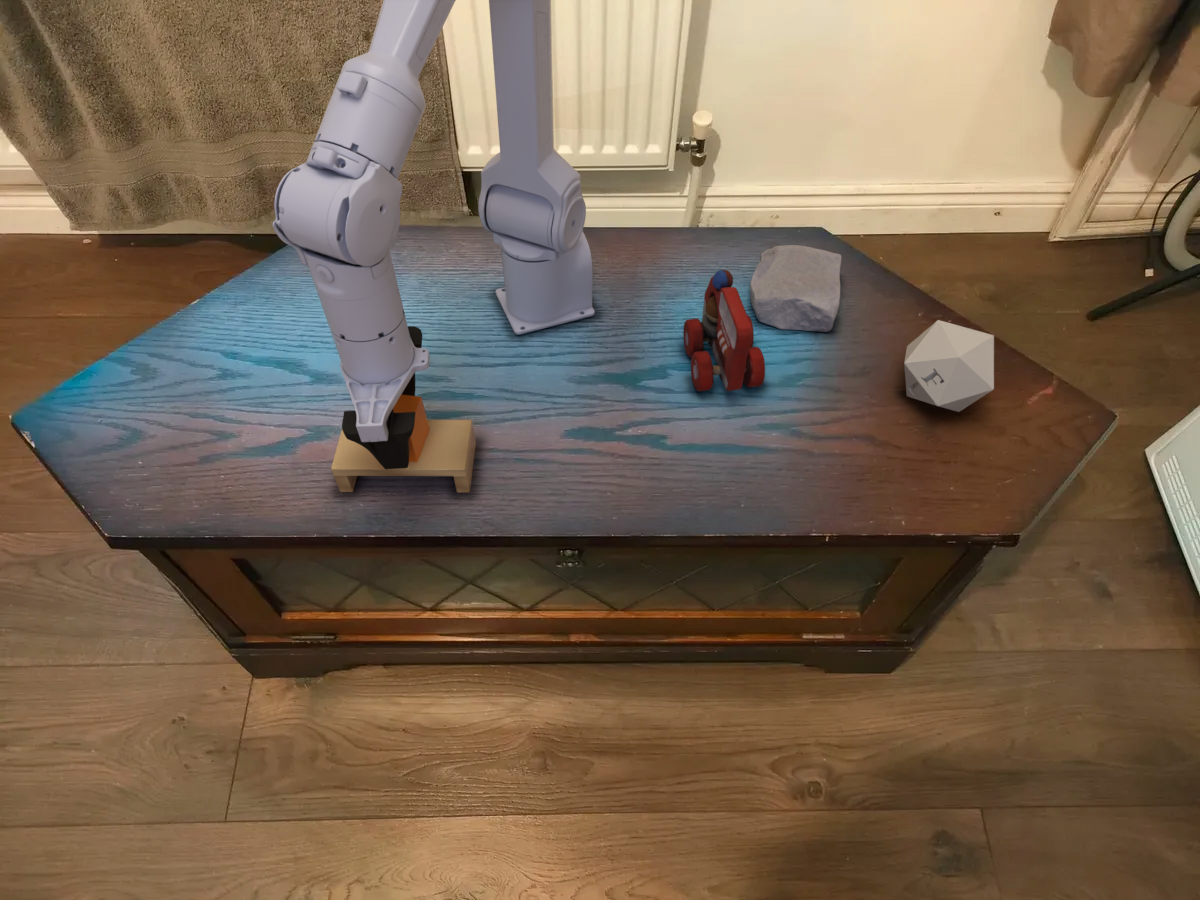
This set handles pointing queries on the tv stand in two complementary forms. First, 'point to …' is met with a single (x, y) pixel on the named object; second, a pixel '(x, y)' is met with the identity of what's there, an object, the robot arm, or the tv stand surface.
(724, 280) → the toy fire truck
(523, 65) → the robot arm
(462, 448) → the shelf
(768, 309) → the stone block
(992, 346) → the die
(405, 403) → the orange cube
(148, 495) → the tv stand surface
